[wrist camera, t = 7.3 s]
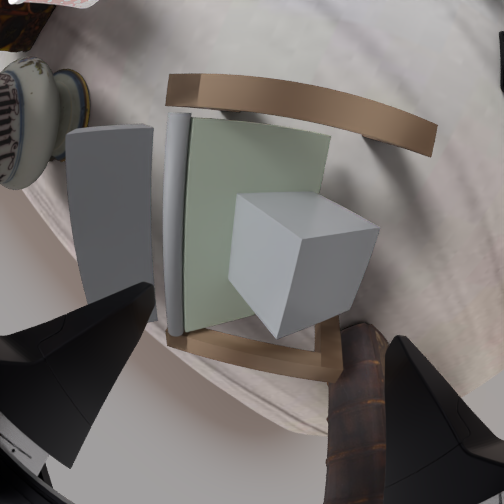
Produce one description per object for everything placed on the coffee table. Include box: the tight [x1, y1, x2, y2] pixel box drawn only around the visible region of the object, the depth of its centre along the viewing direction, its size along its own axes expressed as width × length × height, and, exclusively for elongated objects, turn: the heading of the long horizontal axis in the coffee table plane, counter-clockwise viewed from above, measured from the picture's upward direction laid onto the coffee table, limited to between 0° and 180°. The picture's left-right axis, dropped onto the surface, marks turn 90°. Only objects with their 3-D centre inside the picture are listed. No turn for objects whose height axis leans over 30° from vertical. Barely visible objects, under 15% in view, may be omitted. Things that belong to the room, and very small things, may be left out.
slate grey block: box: [228, 191, 381, 339], centre depth 13 cm, size 5×5×5 cm
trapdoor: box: [65, 113, 331, 337], centre depth 15 cm, size 14×12×5 cm
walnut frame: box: [165, 74, 438, 383], centre depth 16 cm, size 12×16×8 cm
